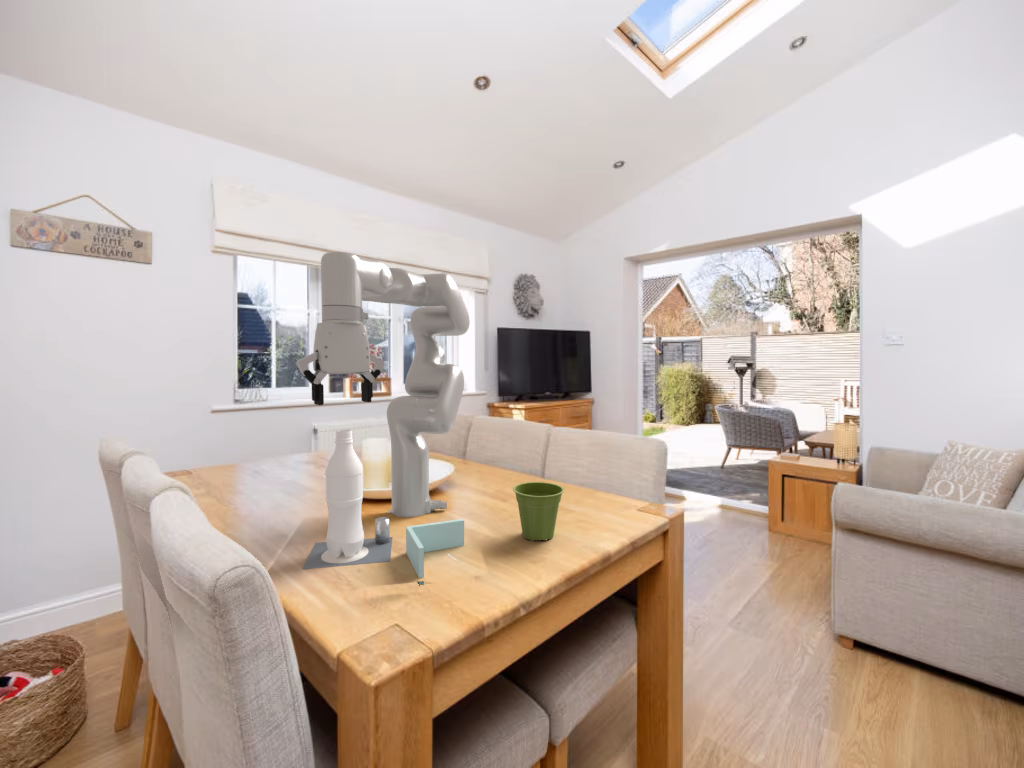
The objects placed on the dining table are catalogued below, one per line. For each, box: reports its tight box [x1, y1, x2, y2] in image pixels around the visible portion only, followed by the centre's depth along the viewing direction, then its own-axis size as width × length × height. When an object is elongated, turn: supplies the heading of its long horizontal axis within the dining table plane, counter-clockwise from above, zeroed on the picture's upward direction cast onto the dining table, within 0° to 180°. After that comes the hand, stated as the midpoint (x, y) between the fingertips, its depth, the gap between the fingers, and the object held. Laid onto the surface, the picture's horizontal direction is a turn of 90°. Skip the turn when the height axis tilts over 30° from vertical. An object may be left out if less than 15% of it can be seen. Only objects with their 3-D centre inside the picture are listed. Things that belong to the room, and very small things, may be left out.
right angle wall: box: [405, 518, 465, 587], centre depth 91 cm, size 12×12×8 cm
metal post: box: [374, 516, 391, 545], centre depth 100 cm, size 3×3×5 cm
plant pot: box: [512, 481, 565, 541], centre depth 107 cm, size 12×12×11 cm
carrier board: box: [301, 536, 393, 570], centre depth 95 cm, size 16×13×2 cm
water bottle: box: [324, 429, 365, 558], centre depth 93 cm, size 7×7×25 cm
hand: (343, 403), depth 92 cm, fingers open, 9 cm apart
